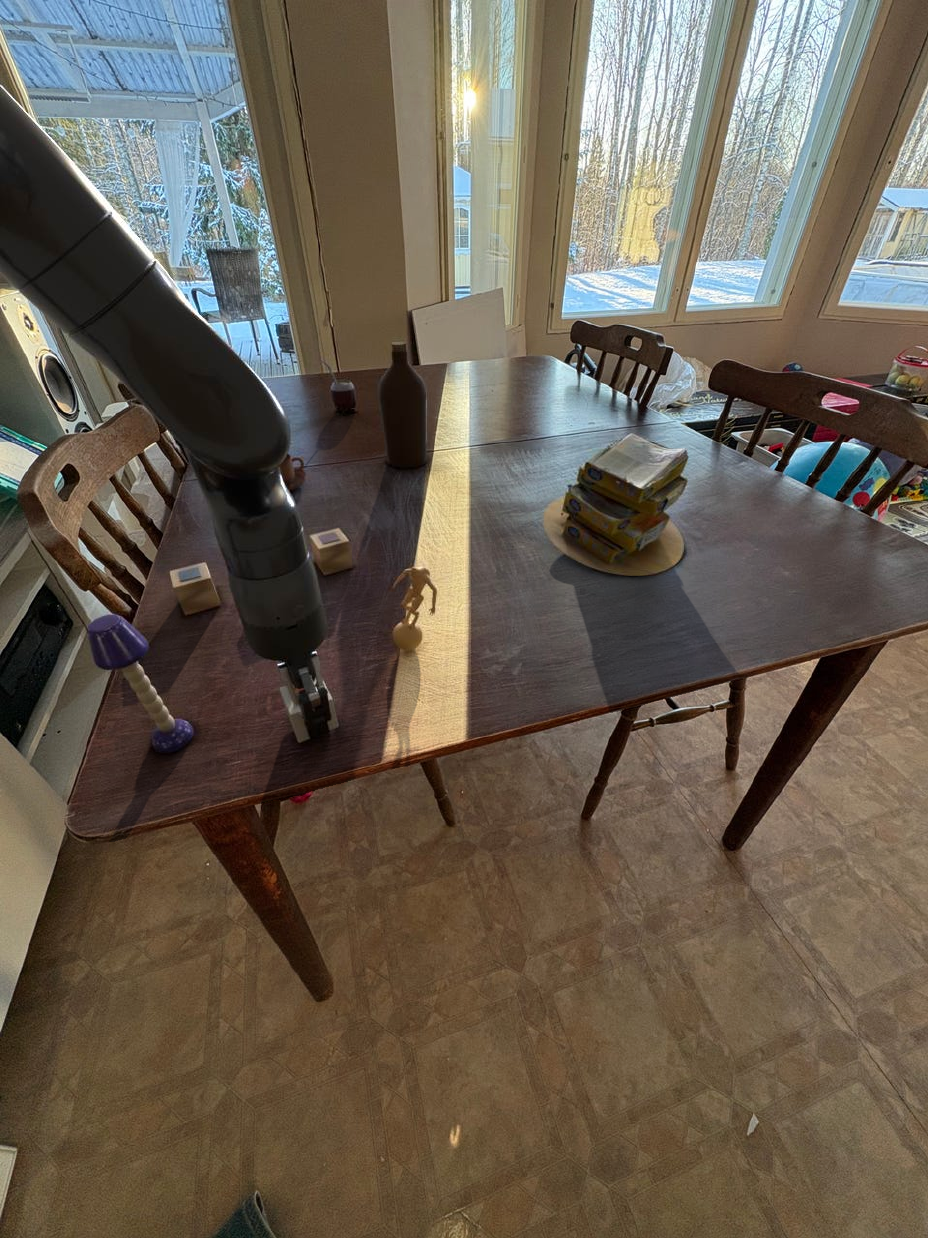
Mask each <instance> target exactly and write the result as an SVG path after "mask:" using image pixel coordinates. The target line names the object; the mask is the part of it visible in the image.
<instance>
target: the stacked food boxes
mask: <svg viewBox="0 0 928 1238" xmlns="http://www.w3.org/2000/svg"><path fill="white" fill-rule="evenodd" d="M614 444H615V445H614ZM688 460H689V455H688V451H687V449H686V448H676V449H675V448H673V449H672V448H670V447H667V446H665V445H663V444H660V443H658V442H655V441H651V440H649V439H646V438H645V437H641V436H640V435H637V434H635V433H634V432H632V433H629V434H627V436H625V437H623V438H621V439H619V440H616V441H613V442H612V443H609V444H608V445H607V446H606V448H604V449H603V450H602V451H599V452H597V453H596V454H595V455H593V456H591V457H589V458H587V460H586V461H585V463H584V464H582V465H580V466H579V467H578V468H579V469H578V472H577V471H575V474H577V476H576V482H577V483H576V484H574V485H572V484H566V486H567V488H568V490H567V492H565V494H564V495H562V496H560V497H557V498H556V499H554V500H553V501H552V502H550V503H549V504H548V506H546V507H545V510H544V513H543V515H542V525H543V530H544V531H545V533H546V536H547V537H548V539H549V540H550V541H551V542H552V544H554V546H556V548H558V550H560V551H561V552H562V553H563V554H565V555H566V556H568V557H569V558H570V559H573V560H574V561H576V562H578V563H580V564H583V565H584V566H587V567H589V568H591V569H595V570H597V571H600V572H605V573H610V574H614V575H620V576H628V577H629V576H631V577H636V576H638V577H640V576H650V575H656V574H659V573H662V572H665V571H667V570H669V569H671V568H672V567H674V566H675V565H676V564H677V563H678V562H679V561H680V560H681V558H682V557H683V554H684V550H685V543H684V539H683V536H682V534H681V532H680V530H679V529H678V527H677V526H676V525H675V524H674V523H673V522H672V521H671V520H670V518H671V517H670V515H669V514H668V513H667V512H665V511H666V510H668V509H669V508H671V506H673V505H674V504H675V503H676V502H677V501H678V500H679V499H680V496H682V495H683V494H684V491H685V489H686V487H687V485H688V482H689V480H688V478H686V477H683V476H682V474H683V473H684V470H685V468H686V466H687V463H688Z"/></svg>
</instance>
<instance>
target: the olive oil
mask: <svg viewBox="0 0 928 1238" xmlns="http://www.w3.org/2000/svg"><path fill="white" fill-rule="evenodd" d="M390 346H391V351H390V353H391V360H392V361H391V365H390V366H389V367H388V368H387V370H386V371H385V373H384V374H383V375H382V377H381V379H380V381H379V382H378V388H377V397H378V403H379V404H378V405H379V410H380V416H381V417H380V418H381V423H382V424H381V425H382V431H383V437H384V445H385V452H386V460H387V463H388V464H389V465H390V466H391V467H394V468H399V469H413V468H418V467H421V466H423V465H425V464H426V463H427V462H428V393H427V387H426V384H425V381H424V379H423V378H422V376H421V375H420V374H419V373H418V372H417V371H416V370H415V368H413V367H412V366H411V364H410V363H409V357H408V356H409V354H408V353H409V352H408V350H407V347H408V346H407V342H405V341H393V342H391V343H390Z"/></svg>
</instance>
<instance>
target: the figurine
mask: <svg viewBox="0 0 928 1238" xmlns="http://www.w3.org/2000/svg"><path fill="white" fill-rule="evenodd" d="M406 574H408V575H409V582H410V586H411V587H409V588H408V589H407V593H406V595H405V597H404V599H403V600H402V601H401V606H402V608H403V609H405V610H406V611H408V612H407V615H405V618H403V619H402V620H401V622H399V623H397V624H396V626H395V627H394V629H393V631H392V641H393V643H394V644H395V646H396V647H397V648H399V649H401V651H402V650H403V651H413V650H416V648H417V649H418V647H419V646H420V645H421V644H422V641H423V636H424V635H423V630H422V628H421V626H420V625H419V624H418V623H417V622H418V619H419V616H420V611H419V608H420V606H421V605H422V603H423V602H424V600H425V596H424V595H423V594H422V593H423V590H424V588H425V587H426V585H427V586H428V587H429V589H430V590H431V591H432V598H431V608H429V610H428V612H430V613H429V616H434V615H435V613H436V603H437V595H438V590H437V587H436V586H435V585H434V583H433V581H432V580H431V578H430V576H431V572H430V569H429V568H428V567H427V566H422V565H421V566H418V567H416V566H412V567H411V568H406V569H404V570H403V571H402V573H401V574H400V575H399V576H398V577H397V578H396V580H395V582H394V584H393V586H392V589H394V588H395V587H396V585H397V584H398V583H399V582H400V581H401V580H402V579H403V578H405V576H406ZM410 603H411V604H410ZM412 615H413V616H414V618H413V620H410V618H411V616H412Z"/></svg>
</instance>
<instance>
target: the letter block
mask: <svg viewBox="0 0 928 1238" xmlns="http://www.w3.org/2000/svg"><path fill="white" fill-rule="evenodd" d="M322 680H323V683H324V686H325V689H326V688H327V685H326V683H325V681H324V679H323V678H322ZM292 684H293V683H292ZM314 684H316V679H315V682H314ZM293 687H294V685H293ZM278 689H279V693H280V696H281V699H282V701H283V705H284V708H285V711H286V714H287V717H288V720H289V722H290V724H291V725H290V726H291V728H292V730H293V732H294V735H295V738H296V741H297V742H298V744H300V743H302V742H305V741H308V740H311V739H310V737H309V735H308V732H307V728H306V726H305V724H304V719H303V718H301V715H300V714H301V711H300V708H299V705H298V704H294V703H293V701H292V699H291V697H290V694H289V691H288V688H287V685H286V684H285V685H283V686H280V687H279V688H278ZM294 690H295V691H297V692H298V691H301V690H304V688H302V689H297V688H296V689H295V687H294ZM327 690H328V688H327ZM328 700H329V707H330V713H331V715H332V716H331V720H330V721H328V726H329V730H330V731H332V730H334V729H337V728H339V726H340V725H339V721H338V717H337V712H336V708H335V704H334V700H333V697H332V695H331V693H330V691H329V690H328Z"/></svg>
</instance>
